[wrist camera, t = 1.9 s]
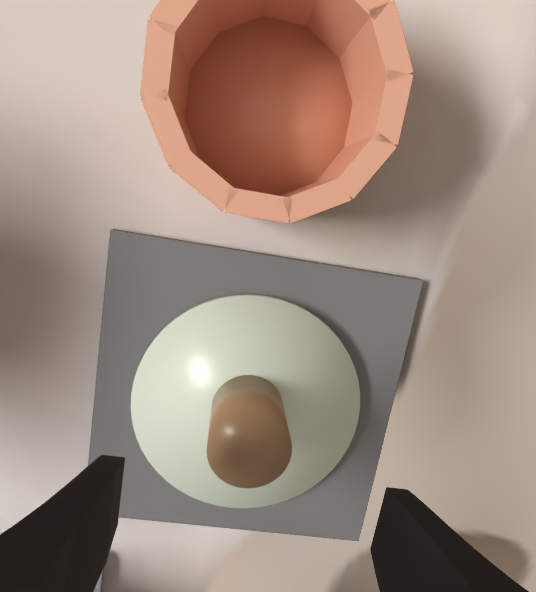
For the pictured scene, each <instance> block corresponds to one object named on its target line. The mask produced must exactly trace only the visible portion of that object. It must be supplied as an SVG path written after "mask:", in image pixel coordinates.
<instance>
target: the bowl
mask: <svg viewBox="0 0 536 592" xmlns="http://www.w3.org/2000/svg"><path fill="white" fill-rule="evenodd" d="M390 1H391V0H160V2H159V3H158V5H157V6H156V7H155V9H154V10H153V12H152V13H151V14H150V16H149V17H150V19H151V20H149V19H148V24H147V33H146V43H145V53H144V63H143V73H142V82H141V92H140V96H141V97H142V98H141V100H142V103H143V105H144V108H145V110H146V113H147V115H148V118H149V120H150V122H151V125H152V127H153V130H154V132H155V135H156V137H157V140H158V142H159V145H160V147H161V149H162V152H163V154H164V157H165V159H166V162H167V164H168V166H170V169H171V170H173V171H174V172H175V173H176V174H178V175H179V176H180V177H181V178H182V179H184V180H185V181H186V182H187V183H188V184H190V185H191V186H192V187H193V188H195V189H196V190H197V191H198V192H199V193H201V194H202V195H203V196H204V197H205V198H207V199H208V200H209V201H210V202H212V203H213V204H214V205H215V206H216V207H218V208H219V209H220V210H221V211H222V212H223V210H224V209H225V208H226V209H225V213H230V214H236V215H242V216H248V217H254V218H259V219H265V220H271V221H277V222H283V223H289V222H290V223H293V222H296V221H298V220H301V219H303V218H306V217H309V216H311V215H314V214H317V213H319V212H322V211H325V210H327V209H330V208H333V207H335V206H338V205H340V204H343V203H346V202H348V201H351V199H354V198H355V196H356V195H357V194H358V193H359V192H360V190H361V189H362V188H363V187H364V186H365V184H366V183H367V182H368V181H369V180H370V179H371V177H372V176H373V175H374V174H375V173H376V171H377V170H378V169H379V168H380V167H381V165H382V164H383V163H384V162H385V161H386V160H387V158H388V157H389V156H390V155H391V154H392V152H393V151H394V150H395V149H396V148H397V147H396V145H398V143H399V138H400V134H401V129H402V125H403V120H404V116H405V111H406V107H407V102H408V98H409V93H410V89H411V84H412V80H413V75H412V74H411V73H413V68H412V64H411V61H410V57H409V53H408V49H407V46H406V42H405V38H404V34H403V30H402V27H401V23H400V19H399V15H398V11H397V8H396V4H395V0H393V1H391V2H390Z"/></svg>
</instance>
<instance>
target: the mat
mask: <svg viewBox="0 0 536 592" xmlns="http://www.w3.org/2000/svg"><path fill="white" fill-rule="evenodd" d="M422 284H423V280H421V279H417V278H411V277H405V276H399V275H392V274H386V273H380V272H374V271H368V270H362V269H355V268H349V267H343V266H337V265H331V264H325V263H318V262H312V261H306V260H300V259H294V258H288V257H281V256H275V255H269V254H263V253H257V252H251V251H244V250H238V249H232V248H226V247H220V246H214V245H207V244H201V243H195V242H189V241H183V240H176V239H170V238H164V237H158V236H152V235H146V234H139V233H133V232H127V231H121V230H115V229H113V230H110V240H109V250H108V261H107V271H106V282H105V293H104V303H103V314H102V324H101V335H100V345H99V356H98V366H97V377H96V388H95V398H94V409H93V419H92V430H91V440H90V451H89V461H88V466H89V465H90V464H91V463H92V462H93V461H94V460H95V459H97V458H98V457H99V456H101V455H109V456H118V457H125V464H124V472H123V481H122V490H121V499H120V508H119V517H121V518H131V519H141V520H151V521H161V522H171V523H181V524H192V525H202V526H212V527H222V528H232V529H242V530H252V531H262V532H272V533H283V534H292V535H302V536H313V537H322V538H332V539H342V540H352V541H359V537H360V533H361V529H362V525H363V521H364V517H365V512H366V509H367V505H368V501H369V497H370V493H371V489H372V485H373V481H374V476H375V473H376V469H377V465H378V461H379V457H380V453H381V449H382V444H383V441H384V437H385V432H386V428H387V424H388V420H389V416H390V412H391V408H392V404H393V400H394V396H395V392H396V388H397V384H398V380H399V376H400V372H401V368H402V364H403V360H404V356H405V352H406V348H407V344H408V340H409V336H410V332H411V328H412V324H413V320H414V316H415V312H416V308H417V304H418V300H419V296H420V292H421V288H422ZM244 293H252V294H265V295H270V296H274V297H279V298H282V299H285V300H288V301H291V302H294V303H296V304H297V305H299V306H301V307H303V308H305V309H307V310H309V311H310V312H312V313H313V314H314V315H316V316H317V317H319V318H320V319H321V320H322V321H323V322H324V323H325V324H327V325H328V326H329V327H330V328H331V330H332V331H333V332H334V333H335V334H336V336H337V337H338V338H339V339H340V341H341V342H342V344H343V345H344V347H345V349H346V350H347V352H348V354H349V355H350V358H351V360H352V362H353V365H354V367H355V370H356V374H357V377H358V381H359V389H360V412H359V418H358V423H357V427H356V430H355V433H354V436H353V438H352V440H351V443H350V445H349V447H348V449H347V450H346V452H345V454H344V455H343V457H342V459H341V460H340V461H339V462H338V464H337V465H336V466H335V467H334V469H333V470H332V471H331V472H330V473H329V474H328V475H327V476H326V477H324V478H323V479H322V480H321V481H320V482H318V483H317V484H316V485H314V486H313V487H312V488H310V489H308V490H307V491H305V492H303V493H302V494H300V495H298V496H296V497H293V498H291V499H289V500H286V501H283V502H280V503H277V504H274V505H269V506H263V507H256V508H229V507H222V506H216V505H213V504H209V503H206V502H202V501H200V500H198V499H195V498H193V497H190V496H188V495H187V494H185V493H183V492H181V491H180V490H178V489H176V488H175V487H174V486H172V485H171V484H170V483H168V482H167V481H166V480H165V479H164V478H163V477H162V476H161V475H160V474H159V473H158V472H157V471H156V470H155V469H154V468H153V466H152V465H151V464H150V463H149V461H148V460H147V458H146V456H145V455H144V453H143V451H142V450H141V448H140V445H139V443H138V440H137V438H136V435H135V432H134V428H133V424H132V417H131V392H132V387H133V381H134V378H135V375H136V372H137V369H138V366H139V364H140V362H141V360H142V358H143V356H144V354H145V352H146V351H147V349H148V347H149V346H150V344H151V343H152V342H153V340H154V339H155V337H156V336H157V335H158V334H159V333H160V331H161V330H162V329H163V328H164V327H165V326H166V325H167V324H168V323H170V322H171V321H172V320H173V319H174V318H175V317H177V316H178V315H180V314H181V313H183V312H184V311H186V310H187V309H189V308H191V307H193V306H195V305H197V304H199V303H202V302H204V301H207V300H210V299H213V298H216V297H220V296H226V295H231V294H244Z"/></svg>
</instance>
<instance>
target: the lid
mask: <svg viewBox="0 0 536 592" xmlns="http://www.w3.org/2000/svg"><path fill="white" fill-rule="evenodd" d="M359 412H360V389H359V381H358V377H357V374H356V370H355V367H354V365H353V362H352V360H351V358H350V355H349V354H348V352H347V350H346V349H345V347H344V345H343V344H342V342H341V341H340V339H339V338H338V337H337V336H336V334H335V333H334V332H333V331H332V330H331V328H330V327H329V326H328V325H327V324H325V323H324V322H323V321H322V320H321V319H320V318H319V317H317V316H316V315H314V314H313V313H312V312H310V311H309V310H307V309H305V308H303V307H301V306H299V305H297V304H296V303H294V302H291V301H288V300H285V299H282V298H279V297H274V296H270V295H265V294H252V293H244V294H231V295H226V296H220V297H216V298H213V299H210V300H207V301H204V302H202V303H199V304H197V305H195V306H193V307H191V308H189V309H187V310H186V311H184V312H183V313H181V314H180V315H178V316H177V317H175V318H174V319H173V320H172V321H171V322H170V323H168V324H167V325H166V326H165V327H164V328H163V329H162V330H161V331H160V333H159V334H158V335H157V336H156V337H155V339H154V340H153V342H152V343H151V344H150V346H149V347H148V349H147V351H146V352H145V354H144V356H143V358H142V360H141V362H140V364H139V366H138V369H137V372H136V375H135V378H134V381H133V387H132V392H131V417H132V424H133V428H134V432H135V435H136V438H137V440H138V443H139V445H140V448H141V450H142V451H143V453H144V455H145V456H146V458H147V460H148V461H149V463H150V464H151V465H152V466H153V468H154V469H155V470H156V471H157V472H158V473H159V474H160V475H161V476H162V477H163V478H164V479H165V480H166V481H167V482H168V483H170V484H171V485H172V486H174V487H175V488H176V489H178V490H180V491H181V492H183V493H185V494H187V495H188V496H190V497H193V498H195V499H198V500H200V501H202V502H206V503H209V504H213V505H216V506H222V507H229V508H256V507H263V506H269V505H274V504H277V503H280V502H283V501H286V500H289V499H291V498H293V497H296V496H298V495H300V494H302V493H303V492H305V491H307V490H308V489H310V488H312V487H313V486H314V485H316V484H317V483H318V482H320V481H321V480H322V479H323V478H324V477H326V476H327V475H328V474H329V473H330V472H331V471H332V470H333V469H334V467H335V466H336V465H337V464H338V462H339V461H340V460H341V459H342V457H343V455H344V454H345V452H346V450H347V449H348V447H349V445H350V443H351V440H352V438H353V436H354V433H355V430H356V427H357V423H358V418H359Z"/></svg>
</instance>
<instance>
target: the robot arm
mask: <svg viewBox="0 0 536 592" xmlns="http://www.w3.org/2000/svg"><path fill="white" fill-rule="evenodd" d="M124 464H125V457H118V456H109V455H101V456H99V457H98V458H97V459H95V460H94V461H93V462H92V463H91V464H90V465H89V466H88V467H86V468H85V469H84V470H83V471H82V472H81V473H80V474H79V475H77V476H76V477H75V478H74V479H73V480H72V481H70V482H69V483H68V484H67V485H66V486H65V487H63V488H62V489H61V490H60V491H58V492H57V493H56V494H55V495H54V496H52V497H51V498H50V499H49V500H47V501H46V502H45V503H44V504H42V505H41V506H40V507H38V508H37V509H36V510H34V511H33V512H32V513H30V514H29V515H27V516H26V517H25V518H23V519H22V520H21V521H19V522H18V523H17V524H15V525H14V526H12V527H11V528H9V529H8V530H6V531H5V532H3V533H2V534H0V592H100V590H101V581H102V572H103V568H104V566H105V563H106V560H107V557H108V554H109V551H110V548H111V544H112V541H113V538H114V534H115V531H116V528H117V524H118V517H119V508H120V499H121V490H122V481H123V472H124ZM371 554H372V559H373V564H374V569H375V573H376V577H377V581H378V585H379V589H380V592H528V591H527V590H526V589H524V588H523V587H522V586H520V585H519V584H517V583H516V582H515V581H514V580H512V579H511V578H510V577H508V576H507V575H506V574H504V573H503V572H502V571H501V570H500V569H498V568H497V567H496V566H495V565H493V564H492V563H491V562H490V561H488V560H487V559H486V558H485V557H484V556H482V555H481V554H480V553H479V552H478V551H477V550H475V549H474V548H473V547H472V546H471V545H470V544H468V543H467V542H466V541H465V540H464V539H463V538H462V537H460V536H459V535H458V534H457V533H456V532H455V531H454V530H453V529H451V528H450V527H449V526H448V525H447V524H446V523H445V522H444V521H443V520H441V519H440V518H439V517H438V516H437V515H436V514H435V513H434V512H433V511H432V510H431V509H429V508H428V507H427V506H426V505H425V504H424V503H423V502H422V501H420V500H419V499H418V498H417V497H416V496H415V495H413V494H412V493H411V492H410V491H408V490H405V489H397V488H388V487H387V488H386V491H385V495H384V499H383V503H382V506H381V510H380V514H379V518H378V522H377V526H376V530H375V534H374V538H373V541H372V545H371Z"/></svg>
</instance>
